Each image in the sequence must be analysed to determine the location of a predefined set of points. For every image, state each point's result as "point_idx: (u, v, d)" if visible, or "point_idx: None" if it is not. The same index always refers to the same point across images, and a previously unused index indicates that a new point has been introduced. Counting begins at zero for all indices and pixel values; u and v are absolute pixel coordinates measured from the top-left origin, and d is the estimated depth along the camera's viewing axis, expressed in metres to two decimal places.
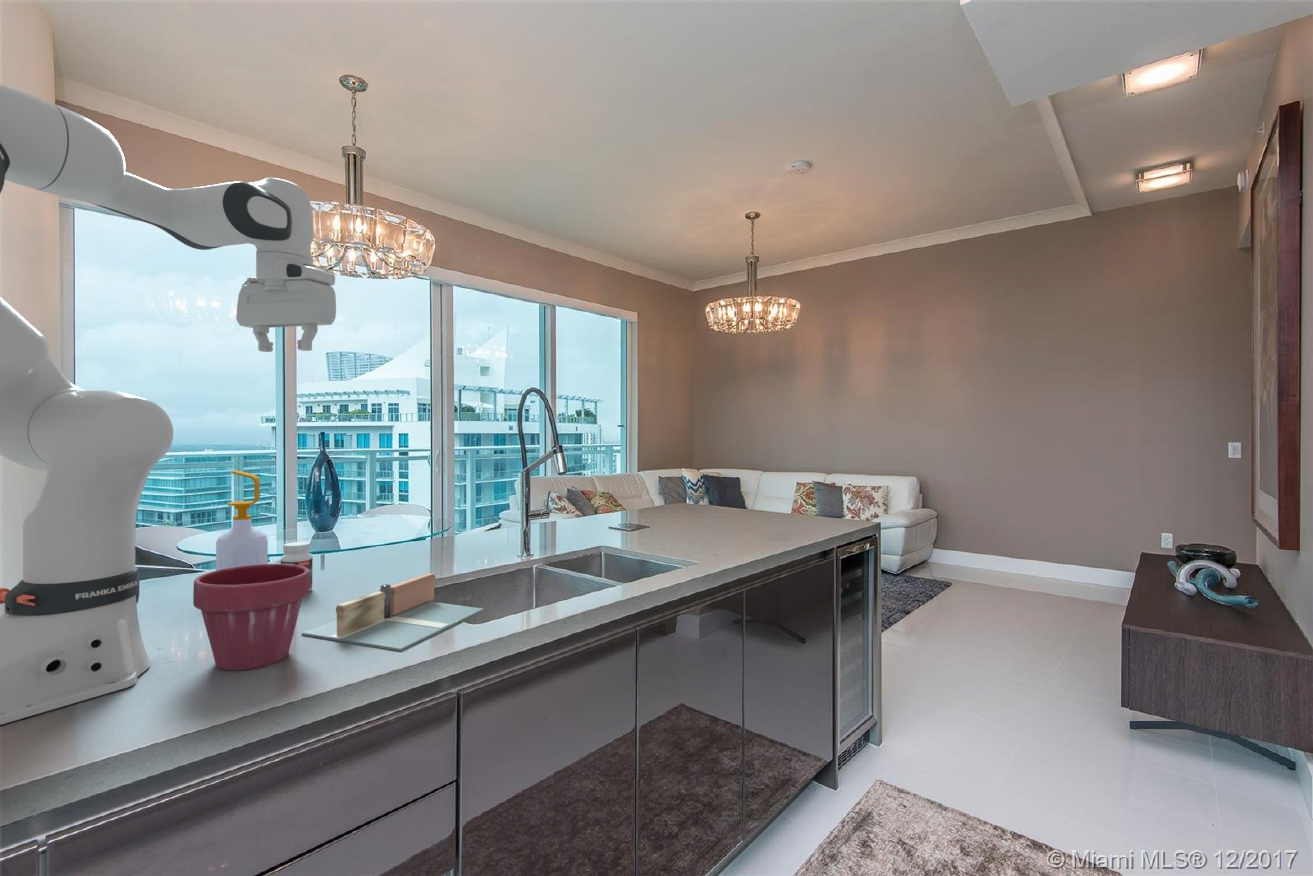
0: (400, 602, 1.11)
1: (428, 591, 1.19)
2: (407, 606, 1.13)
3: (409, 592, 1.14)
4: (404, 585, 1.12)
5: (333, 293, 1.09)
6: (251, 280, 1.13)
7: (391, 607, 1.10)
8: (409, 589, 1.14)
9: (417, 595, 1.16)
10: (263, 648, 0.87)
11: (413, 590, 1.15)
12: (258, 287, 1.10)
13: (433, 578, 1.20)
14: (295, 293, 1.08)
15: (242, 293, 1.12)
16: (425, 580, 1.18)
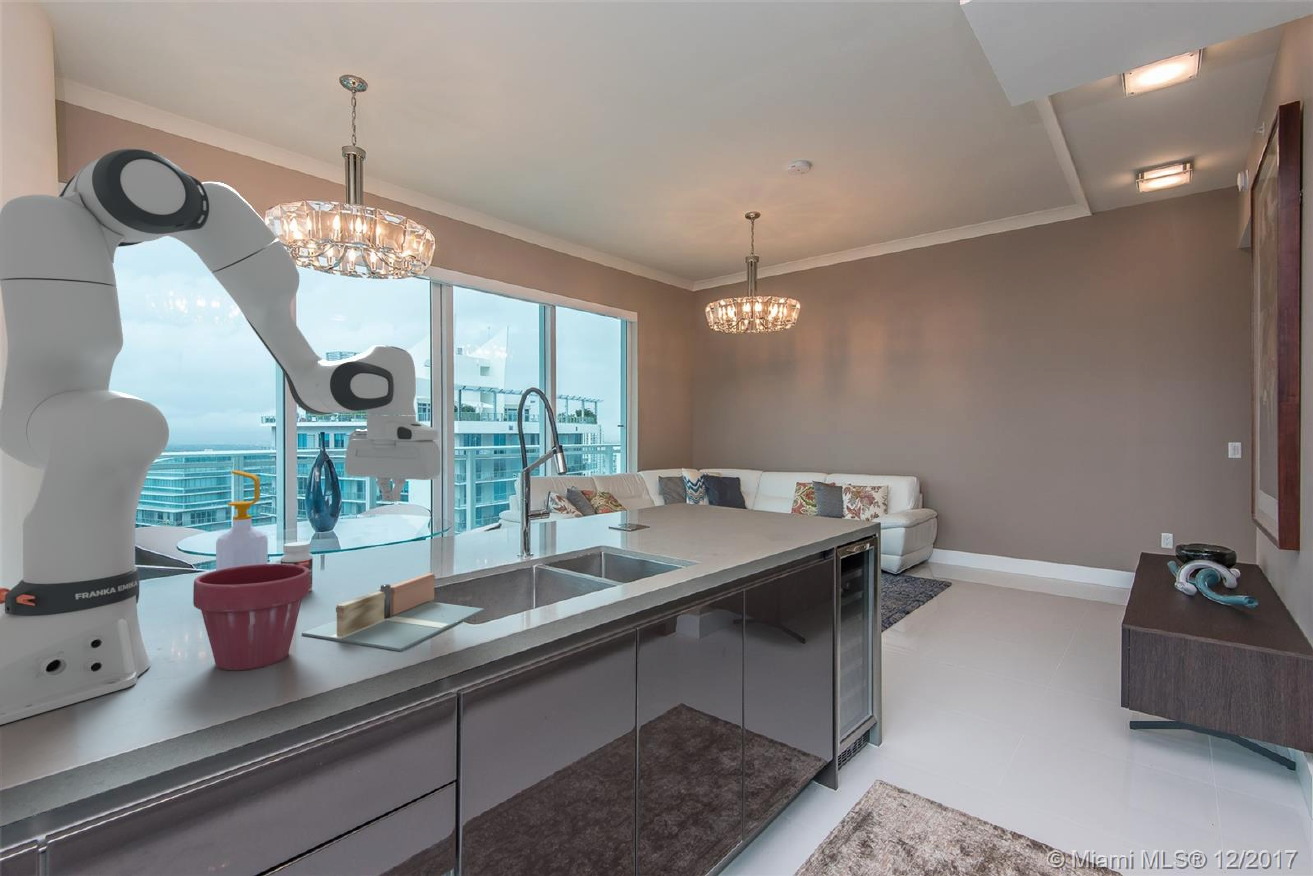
0: (400, 602, 1.11)
1: (428, 591, 1.19)
2: (407, 606, 1.13)
3: (409, 592, 1.14)
4: (404, 585, 1.12)
5: (437, 449, 1.18)
6: (358, 433, 1.21)
7: (391, 607, 1.10)
8: (409, 589, 1.14)
9: (417, 595, 1.16)
10: (263, 648, 0.87)
11: (413, 590, 1.15)
12: (367, 442, 1.19)
13: (433, 578, 1.20)
14: (403, 451, 1.16)
15: (351, 446, 1.20)
16: (425, 580, 1.18)
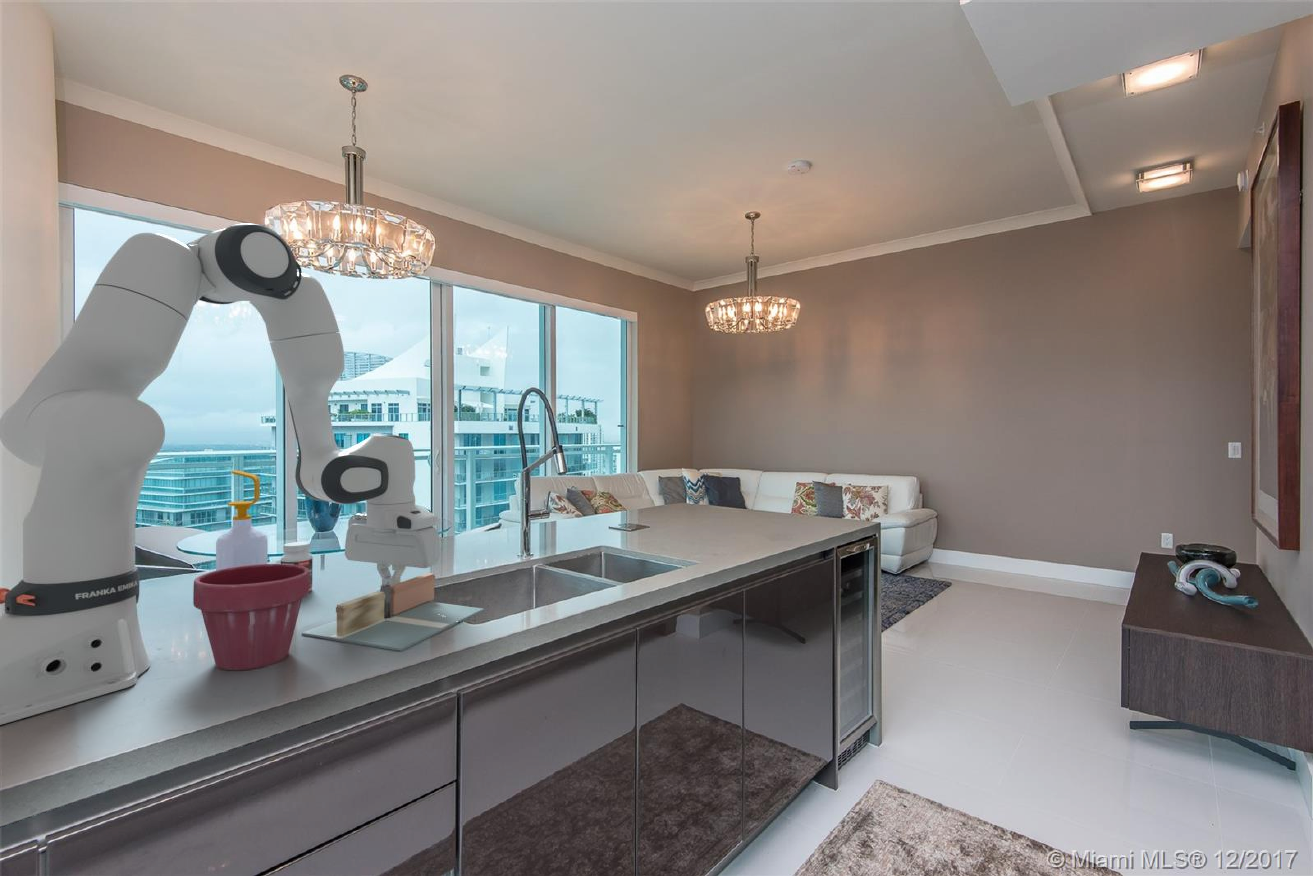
0: (400, 602, 1.11)
1: (428, 591, 1.19)
2: (407, 606, 1.13)
3: (409, 592, 1.14)
4: (404, 585, 1.12)
5: (437, 536, 1.18)
6: (358, 517, 1.21)
7: (391, 607, 1.10)
8: (409, 589, 1.14)
9: (417, 595, 1.16)
10: (263, 648, 0.87)
11: (413, 590, 1.15)
12: (366, 528, 1.19)
13: (433, 578, 1.20)
14: (403, 539, 1.17)
15: (350, 531, 1.20)
16: (425, 580, 1.18)
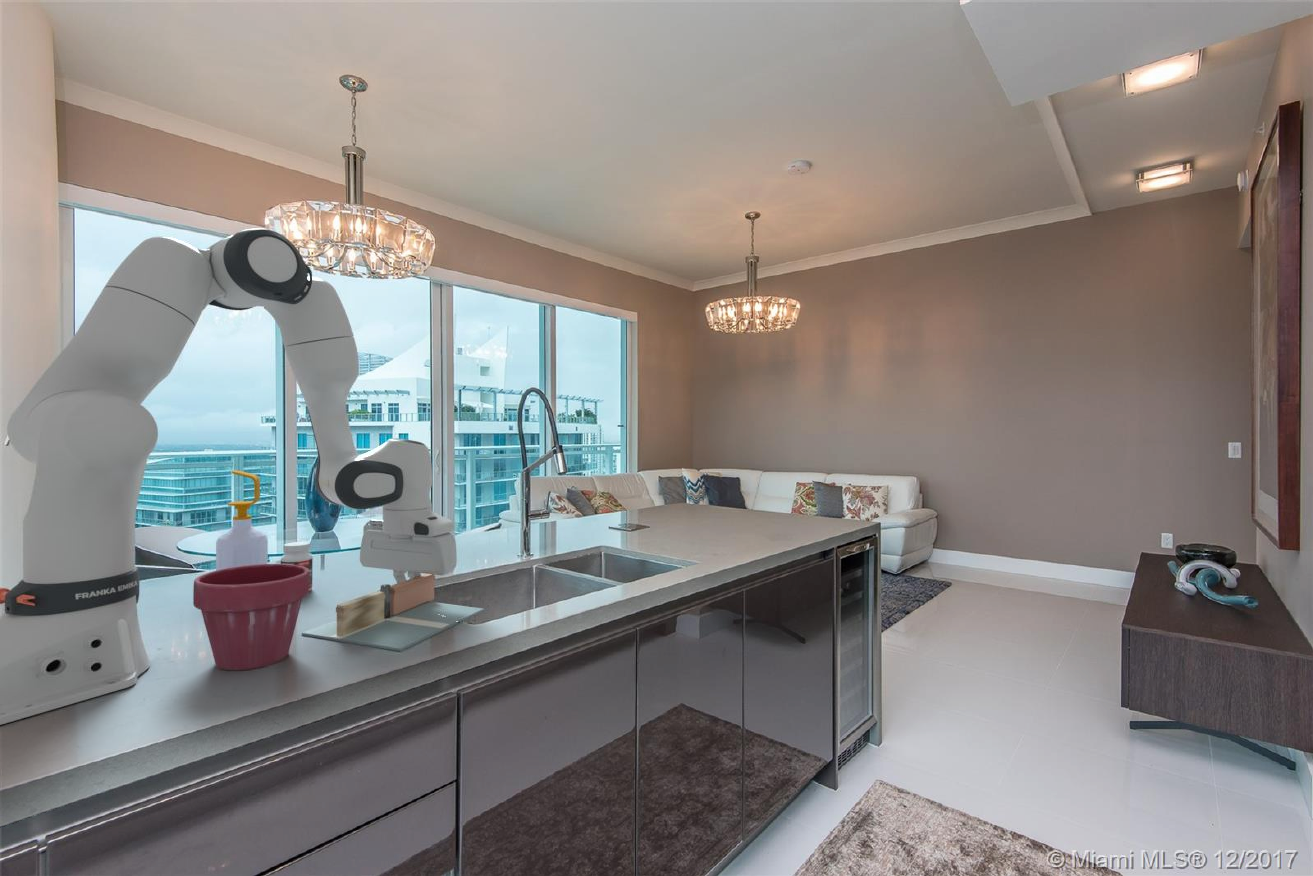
0: (400, 602, 1.11)
1: (428, 591, 1.19)
2: (407, 606, 1.13)
3: (409, 592, 1.14)
4: (404, 585, 1.12)
5: (454, 542, 1.17)
6: (373, 523, 1.20)
7: (391, 607, 1.10)
8: (409, 589, 1.14)
9: (417, 595, 1.16)
10: (263, 648, 0.87)
11: (413, 590, 1.15)
12: (382, 534, 1.18)
13: (433, 578, 1.20)
14: (420, 545, 1.15)
15: (366, 538, 1.19)
16: (425, 580, 1.18)
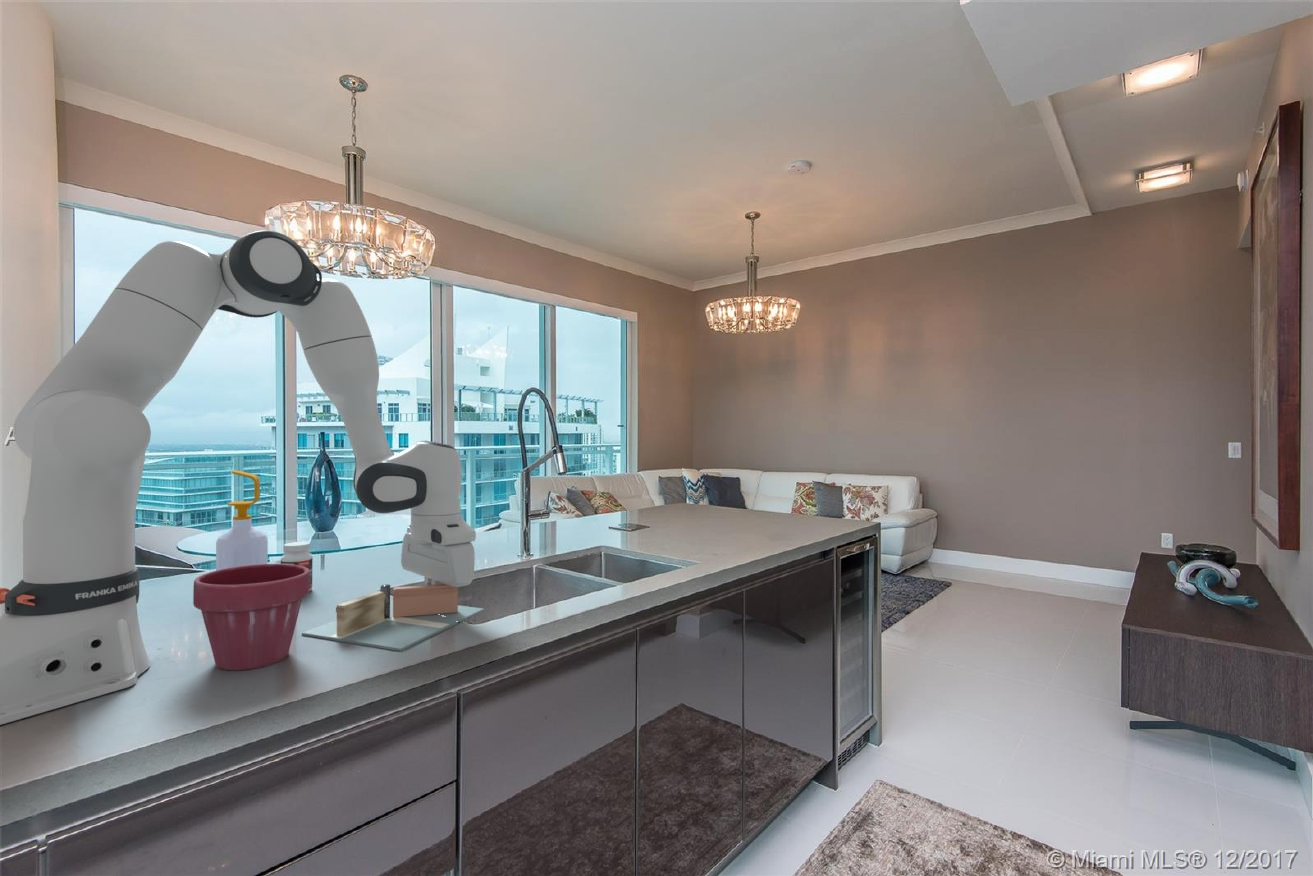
0: (403, 606, 1.09)
1: (448, 602, 1.12)
2: (414, 612, 1.10)
3: (417, 598, 1.10)
4: (408, 590, 1.09)
5: (472, 553, 1.09)
6: None
7: (393, 609, 1.09)
8: (416, 595, 1.10)
9: (430, 603, 1.11)
10: (263, 648, 0.87)
11: (423, 597, 1.10)
12: None
13: (455, 590, 1.12)
14: (440, 553, 1.10)
15: (405, 540, 1.18)
16: (442, 589, 1.11)
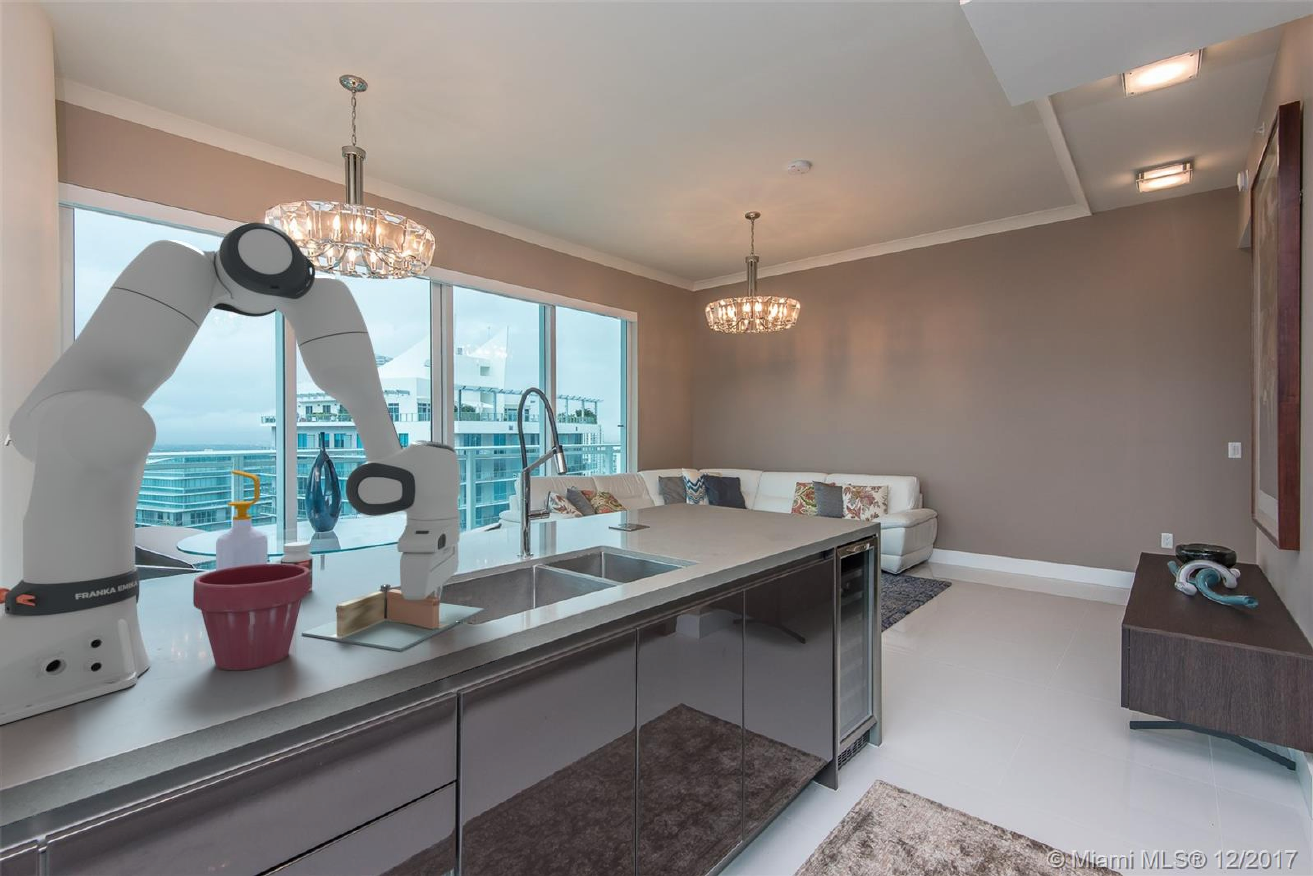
0: (393, 610, 1.07)
1: (425, 616, 1.03)
2: (401, 618, 1.06)
3: (403, 605, 1.06)
4: (397, 594, 1.06)
5: (424, 565, 0.98)
6: None
7: None
8: (402, 601, 1.06)
9: (412, 613, 1.05)
10: (263, 648, 0.87)
11: (407, 604, 1.05)
12: None
13: (429, 604, 1.03)
14: None
15: None
16: (420, 601, 1.04)
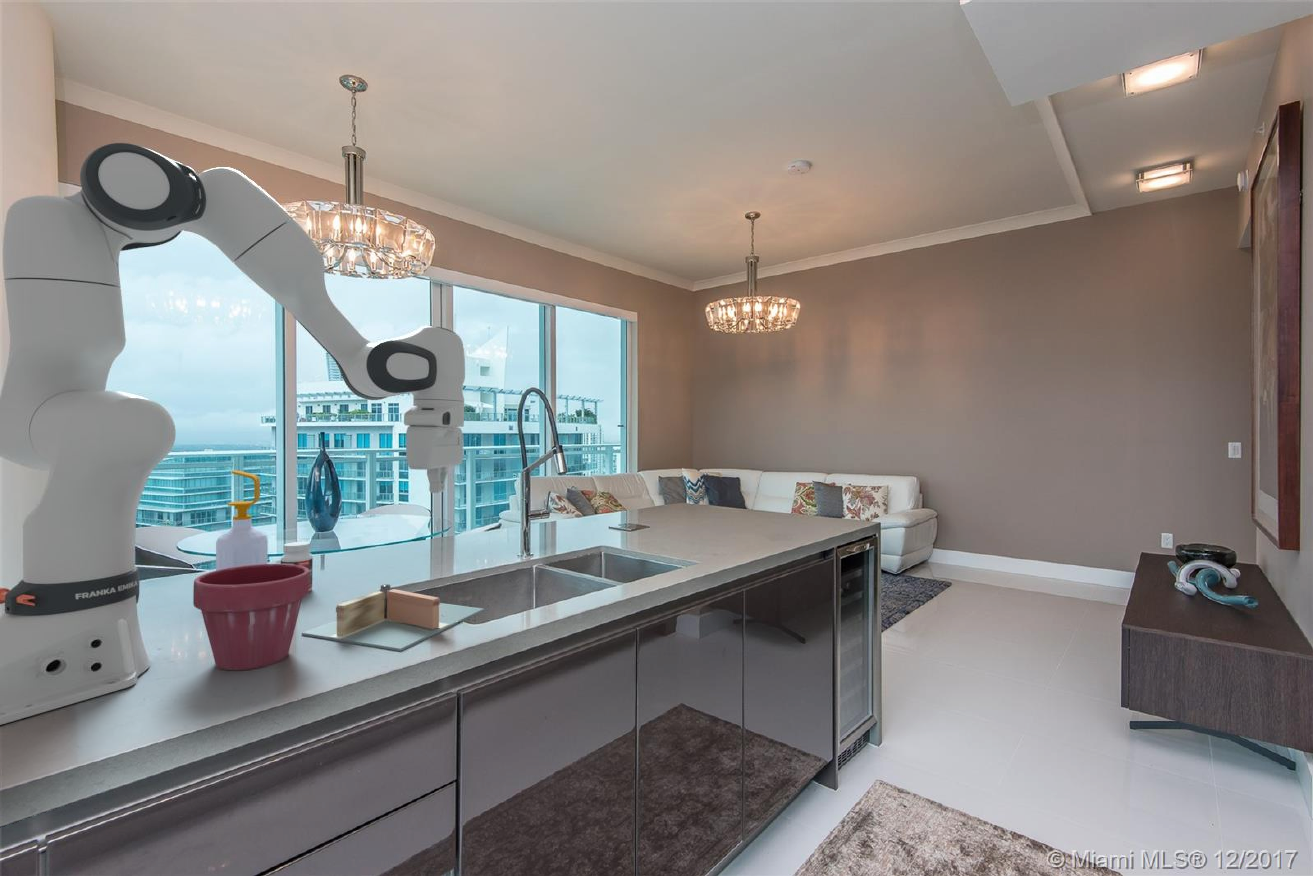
0: (393, 610, 1.07)
1: (425, 616, 1.03)
2: (401, 618, 1.06)
3: (403, 605, 1.06)
4: (397, 594, 1.06)
5: (429, 436, 1.02)
6: None
7: None
8: (402, 601, 1.06)
9: (412, 613, 1.05)
10: (263, 648, 0.87)
11: (407, 605, 1.05)
12: None
13: (429, 604, 1.03)
14: None
15: None
16: (420, 601, 1.04)
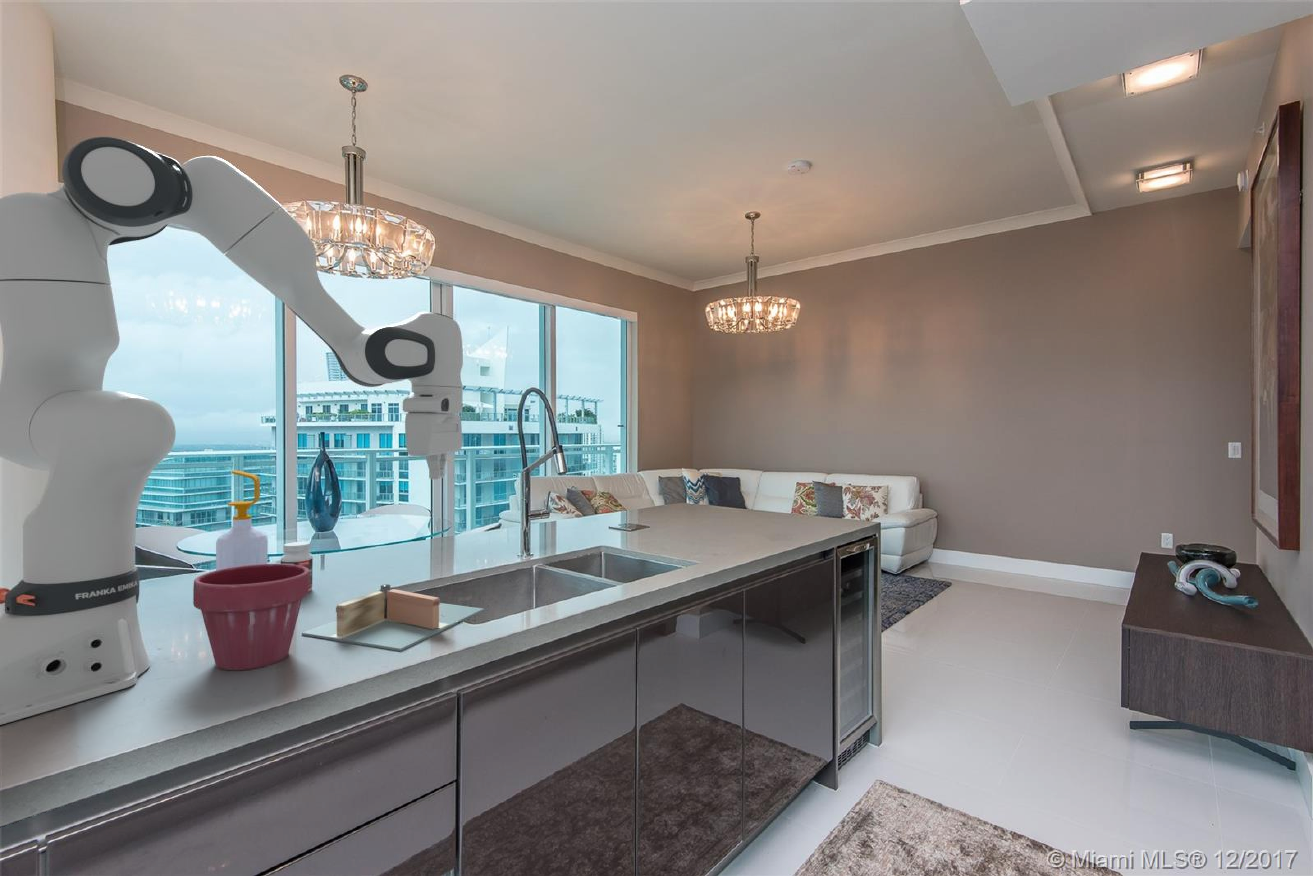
0: (393, 610, 1.07)
1: (425, 616, 1.03)
2: (401, 618, 1.06)
3: (403, 605, 1.06)
4: (397, 594, 1.06)
5: (428, 422, 1.02)
6: None
7: None
8: (402, 601, 1.06)
9: (412, 613, 1.05)
10: (263, 648, 0.87)
11: (407, 605, 1.05)
12: None
13: (429, 604, 1.03)
14: None
15: None
16: (420, 601, 1.04)
